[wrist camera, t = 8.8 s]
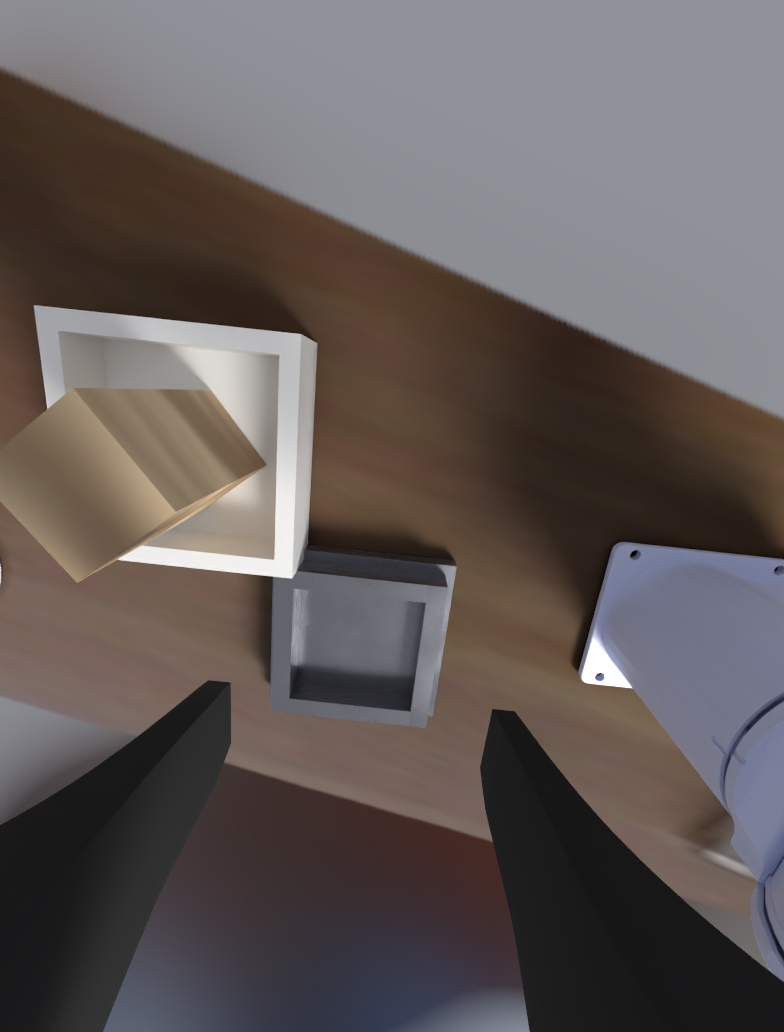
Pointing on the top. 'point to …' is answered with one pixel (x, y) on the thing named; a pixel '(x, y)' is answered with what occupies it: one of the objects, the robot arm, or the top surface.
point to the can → (1, 572)
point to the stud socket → (360, 635)
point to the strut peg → (120, 470)
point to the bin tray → (246, 397)
